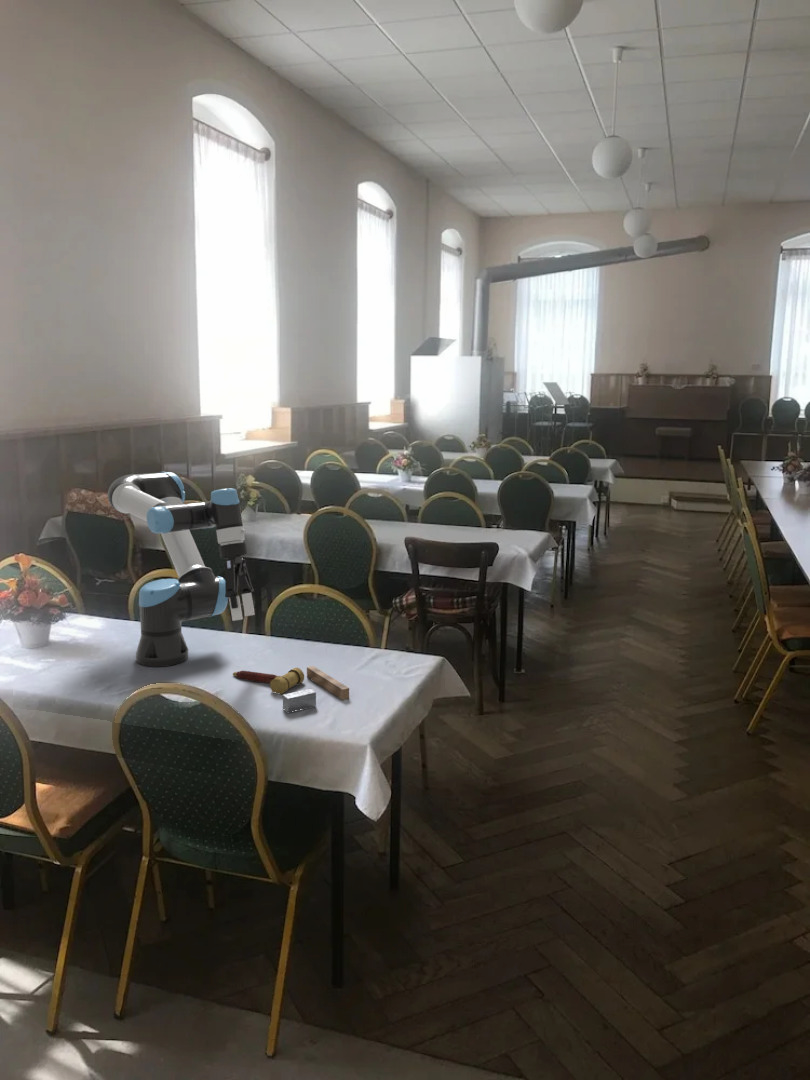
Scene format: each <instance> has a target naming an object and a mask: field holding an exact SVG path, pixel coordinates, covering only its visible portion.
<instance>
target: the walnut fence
mask: <svg viewBox="0 0 810 1080" xmlns="http://www.w3.org/2000/svg"><path fill="white" fill-rule="evenodd" d="M306 677H309V678H310V679H309V678H308V679H309V680H311V679H312V680H313V681H312V680H311V681H312V682H314V683H315V682H316V683H315V684H317V685H318V684H319V686H320V687H321V686H322V687H321V688H323V689H324V690H326V691H328V692H329V693H330V694H332V695H334V696H335V697H337V698H338V699H340V700H341V701H344V700H345V701H346V700H349V699H350V687H349V686H347V685H345V684H344V683H342V682H341V681H338V680H337V679H335V678H334V677H332V676H330V674H328V673H326V672H324V671H322V670H321V669H319V668H317V667H316V666H315V665H311V666H306Z"/></svg>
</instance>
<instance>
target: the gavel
mask: <svg viewBox="0 0 810 1080" xmlns="http://www.w3.org/2000/svg"><path fill="white" fill-rule="evenodd" d="M232 675H233V677H236V678H238V679H239V680H244V681H250V682H257V683H263V684H264V683H265V684H269V685H270V690H271V692H272V693H273V692H276V693H280V694H279V695H284V694H285V693H286V692H287V691H288V690H289V689H292V688H293V687H294V686H296V684H299V685H300V684H302V683H303V682H305V681H304V680H305V673H304V671H303V670H302V669H301V668H299V667H294V668H292V669H290V670H289V671H288V672H287V673H284V674H283V675H277V674H272V673H266V672H265V673H263V672H256V671H251V670H239V671H234V672H233V673H232ZM284 692H285V693H284ZM276 693H275V694H276Z"/></svg>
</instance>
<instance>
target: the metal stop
mask: <svg viewBox="0 0 810 1080" xmlns="http://www.w3.org/2000/svg"><path fill="white" fill-rule="evenodd" d="M315 706H316V707H317V692H316V691H315V690H314V689H312V688H306V689H302V690H298V691H294V692H290V693H283V694H282V710H283V709H285V710H286V711H287V712H292V711H295V710H300V709H305V708H309V709H311V708H310V707H313V708H316V707H315ZM305 710H306V709H305ZM286 711H285V712H286ZM300 711H301V710H300ZM287 712H286V713H287ZM292 713H293V712H292Z"/></svg>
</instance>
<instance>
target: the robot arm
mask: <svg viewBox="0 0 810 1080" xmlns="http://www.w3.org/2000/svg"><path fill="white" fill-rule="evenodd" d="M184 490H185V486H184V483H183V481H182V480H181V478H180V477H179V475H178V474H176V473H174V472H171V471H158V472H152V473H148V472H147V473H136V474H135V473H134V474H131V473H130V474H125V475H123V476H120V477H118V478H117V479H115V480H114V481H113V482H112V483H111V484H110V486H109V488H108V490H107V500H108V502H109V505H110V506H111V507H112V508H113V509H114V510H115V511H117V512H120V513H121V514H130V515H132V516H134V517H137V518H139V519H141V520H142V521H145V522H147V523H146V524H147V526H148V528H149V530H150V531H151V533H153V534H161V537H162V541H163V542H164V545H165V547H166V549H167V551H168V554H169V556H170V559H171V562H172V564H173V566H174V569H175V572H176V574H177V576H178V578H161V579H156V580H153V581H150V582H147V583H145V584H144V585H143V586H142V587H141V588H140V590H139V593H138V598H139V599H138V606H139V619H140V620H139V621H140V623H139V624H140V639H139V641H138V645H137V649H136V651H135V659H136V660H135V661H136V662H137V663H138V664H139V665H142V666H145V667H155V668H156V667H160V668H161V667H168V666H174V665H177V664H181V663H183V662H186V661H187V659H189V656H190V655H189V647H188V645H187V642H186V640H185V638H184V635H183V632H182V622H187V621H191V620H197V619H198V620H199V619H203V618H208V617H209V618H211V617H213V616H217V615H221V614H223V613H224V612H225V611H226V608H227V606H228V601H229V607H230V613H231V620H232V622H234V621H241V620H243V612H244V617H250V616H255V614H256V613H255V608H254V607H255V606H254V601H253V594H252V593H253V592H254V593H255V588H253V584H252V580H251V578H250V574H249V571H248V567H247V564H246V563H247V562H246V559H245V558H243V559H242V557H246V556H247V555H248V549H247V544H246V542H244V541H245V533H246V530H245V529H244V526H243V518H242V512H241V505H240V504H241V503H240V501H241V500H240V499H239V495H238V492H237V491H238V490H237V489H235V488H229V487H227V488H221V489H215V490H213V491H211V492H210V500H209V501H201V502H200V501H199V502H191V503H184V502H185V500H186V492H185V491H184ZM213 528H215V530H216V539H217V543H218V544H219V545H220V546H219V547H218V549H219V550H218V551H219V556H220V559H221V560H224V559H225V560H224V561H223V565H224V575H225V576H224V577H225V578H224V577H222V576H219V575H217V576H215V574H214V571H213V569H212V568H211V567H207V566H205V563H204V560H203V558H202V556H201V553H200V551H199V549H198V547H197V544H196V542H195V539H194V537H193V535H192V533H191V530H199V529H213ZM226 559H227V560H226ZM239 587H240V590H241V592H242V593H241V599H242V606H243V612H242V606H241V599H240V595H238V594H239V593H238V592H239Z"/></svg>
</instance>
